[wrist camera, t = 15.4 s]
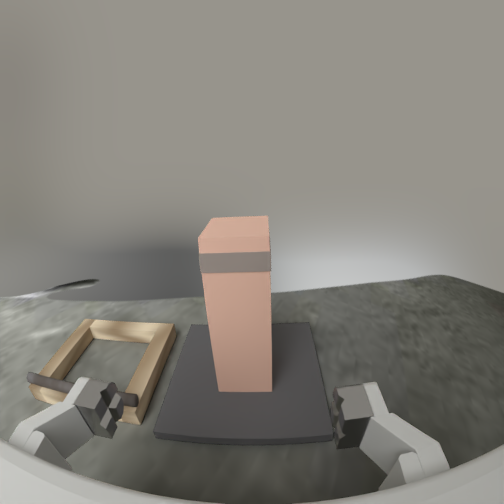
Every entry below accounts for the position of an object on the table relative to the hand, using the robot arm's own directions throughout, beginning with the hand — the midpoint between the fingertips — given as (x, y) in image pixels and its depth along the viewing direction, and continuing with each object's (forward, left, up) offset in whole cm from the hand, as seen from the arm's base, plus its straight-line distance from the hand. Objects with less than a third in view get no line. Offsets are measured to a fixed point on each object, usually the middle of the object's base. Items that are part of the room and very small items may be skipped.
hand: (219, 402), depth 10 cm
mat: (0, -11, -9) cm, 15 cm away
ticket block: (0, -11, -9) cm, 14 cm away
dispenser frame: (+13, -11, -9) cm, 20 cm away
